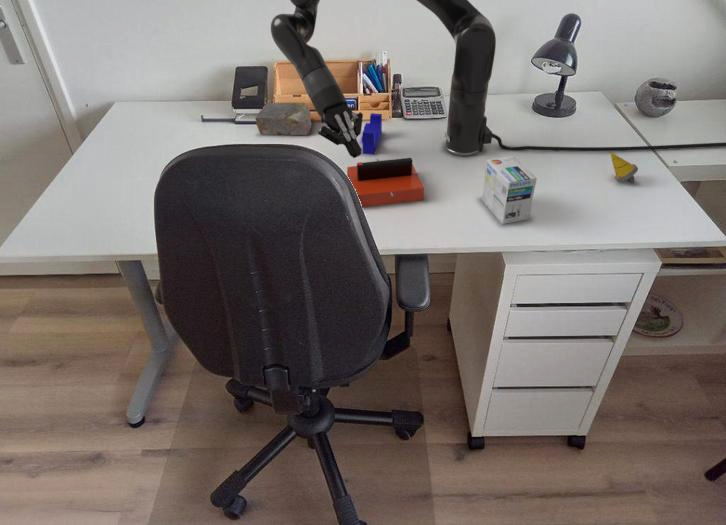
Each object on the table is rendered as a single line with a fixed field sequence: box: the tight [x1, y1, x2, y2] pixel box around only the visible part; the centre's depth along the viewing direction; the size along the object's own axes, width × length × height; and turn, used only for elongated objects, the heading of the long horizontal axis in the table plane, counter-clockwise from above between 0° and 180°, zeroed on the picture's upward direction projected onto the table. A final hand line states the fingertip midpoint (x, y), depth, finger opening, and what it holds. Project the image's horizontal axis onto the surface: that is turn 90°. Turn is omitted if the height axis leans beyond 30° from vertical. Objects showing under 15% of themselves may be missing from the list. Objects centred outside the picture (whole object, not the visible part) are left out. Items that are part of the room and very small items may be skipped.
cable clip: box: [361, 112, 383, 155], centre depth 148 cm, size 12×4×6 cm, turn 168°
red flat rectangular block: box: [346, 158, 425, 208], centre depth 130 cm, size 17×17×4 cm
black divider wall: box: [356, 157, 413, 181], centre depth 128 cm, size 13×1×4 cm, turn 100°
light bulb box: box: [481, 155, 538, 225], centre depth 121 cm, size 11×7×11 cm, turn 17°
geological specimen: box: [255, 102, 313, 137], centre depth 157 cm, size 11×6×15 cm
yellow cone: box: [609, 151, 639, 184], centre depth 131 cm, size 5×5×10 cm
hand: (357, 155), depth 131 cm, fingers closed
